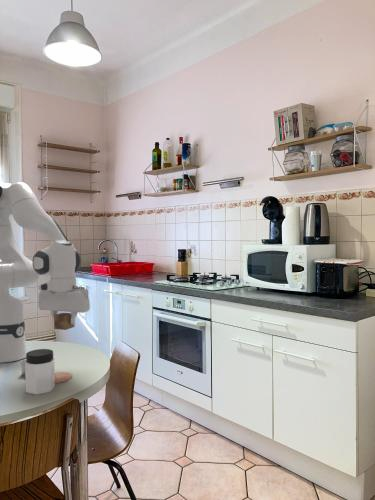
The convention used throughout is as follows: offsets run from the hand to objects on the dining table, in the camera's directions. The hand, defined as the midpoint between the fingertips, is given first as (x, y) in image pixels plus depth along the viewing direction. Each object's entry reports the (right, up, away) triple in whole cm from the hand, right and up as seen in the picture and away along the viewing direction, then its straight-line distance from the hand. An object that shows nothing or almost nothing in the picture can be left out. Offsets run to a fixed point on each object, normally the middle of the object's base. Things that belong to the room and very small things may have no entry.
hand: (64, 323), depth 148 cm
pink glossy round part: (0, -18, -7) cm, 19 cm away
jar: (-2, -18, -17) cm, 25 cm away
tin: (-12, -18, -3) cm, 21 cm away
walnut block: (0, -2, 0) cm, 2 cm away
